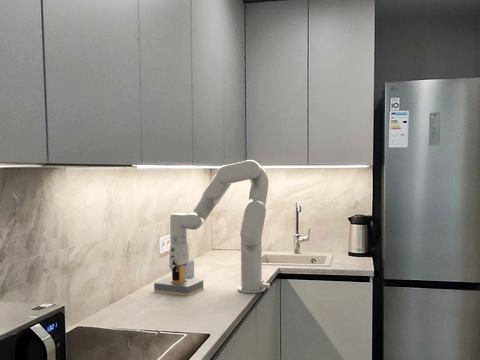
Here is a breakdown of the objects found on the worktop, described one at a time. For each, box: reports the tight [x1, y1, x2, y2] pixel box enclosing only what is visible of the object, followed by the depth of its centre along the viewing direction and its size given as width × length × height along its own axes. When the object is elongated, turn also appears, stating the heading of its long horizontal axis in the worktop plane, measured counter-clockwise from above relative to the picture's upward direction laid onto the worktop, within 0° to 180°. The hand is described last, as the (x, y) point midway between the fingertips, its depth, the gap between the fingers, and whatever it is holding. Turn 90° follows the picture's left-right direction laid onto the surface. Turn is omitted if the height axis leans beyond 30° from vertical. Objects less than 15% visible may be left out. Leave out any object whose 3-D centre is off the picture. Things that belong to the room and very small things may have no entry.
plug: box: [171, 264, 185, 284], centre depth 224 cm, size 4×4×10 cm
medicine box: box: [185, 259, 195, 279], centre depth 252 cm, size 8×4×9 cm, turn 149°
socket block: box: [153, 276, 204, 296], centre depth 224 cm, size 18×14×4 cm
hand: (178, 278), depth 224 cm, fingers closed on plug, 4 cm apart
